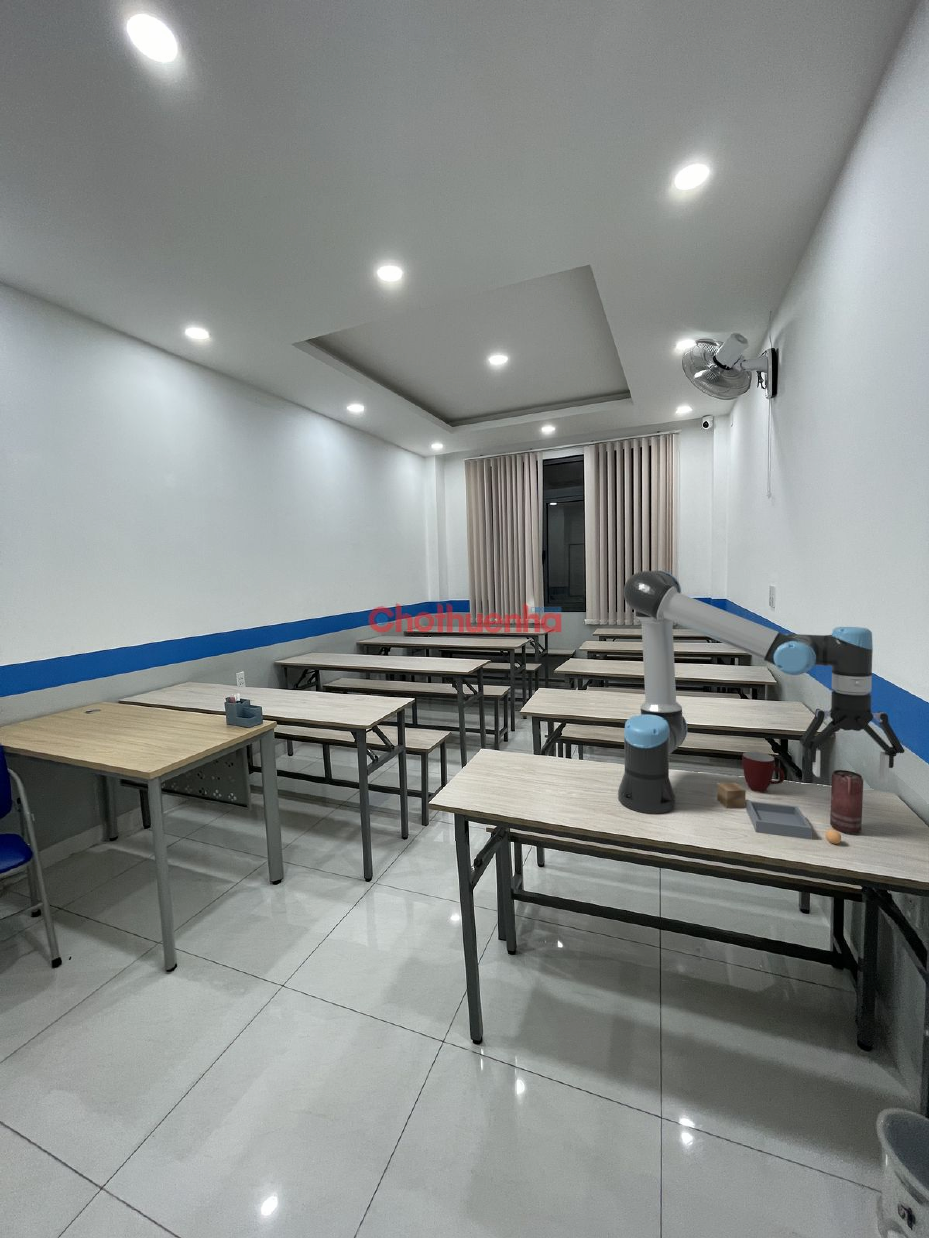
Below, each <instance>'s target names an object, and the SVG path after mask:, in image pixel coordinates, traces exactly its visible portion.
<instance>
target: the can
mask: <svg viewBox="0 0 929 1238" xmlns="http://www.w3.org/2000/svg"><path fill="white" fill-rule="evenodd" d="M830 791H831V792H830V813H829V815H830V816H829V817H830V819H829V820H830V821H829V825H830V826H831V828H832V830H835V831H837V832H839V833H842V834H846V835H851V836H852V835H854V836H855V835H858V834H860V833H861V832H862V823H863V822H862V821H863V820H862V819H863V798H864V779H863V776H862V775H861V774H860V773H858V772H854V771H850V770H846V769H845V770H844V769H835V770H834V771H833V773H831V789H830Z"/></svg>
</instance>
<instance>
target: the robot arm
mask: <svg viewBox="0 0 929 1238" xmlns="http://www.w3.org/2000/svg"><path fill="white" fill-rule="evenodd" d="M623 597H624V600H625V603H627V605H628V607H629V608H631V609H632V610H634V611H635V619H637V620H638V621H639V622H640V624H641V638H642V639H641V640H642V641H641V642H642V655H643V656H642V657H643V659H642V660H643V661H642V663H643V677H644V696H645V697H644V698H645V699H644V700H645V701H644V702H643V703H642V704H641V705H640V714H638V715H634V716H632V717H629V718H628V719H627V720H626V721H625V724H624V730H623V736H624V737H623V738H624V773H623V776H622V779H621V782H620V784H619V786H618V789H617V790H618V792H617V794H618V801H619V803H620V804H621V805H623V806H624V807H626V808H628V809H629V810H632V811H635V812H639V813H645V814H653V815H654V814H656V815H657V814H665V813H668V812H670V811H671V812H672V810H674V809H675V808H676V794H675V791H674V789H673V786H672V782H671V780H670V771H669V767H670V766H669V765H670V763H669V762H670V761H669V760H670V754H672V753H673V752H675V750H676V749H677V748H679V747H680V746H681V745H682V744H684V743H683V742H684V741H685V740H686V738H687V734H688V723H687V721H686V719H685V717H684V716H683V706H682V705H681V704H680V703H679V702H677V692H676V690H677V689H676V688H677V687H676V673H675V672H676V671H675V670H676V669H675V667H676V666H675V652H674V651H675V649H674V630H673V628H674V627H673V623H675V624H677V625H680V626H682V627H684V628H687V629H690V630H692V631H694V632H696V633H699V634H701V635H704V636H705V637H708V638H711V639H713V640H715V641H717V642H719V643H723V644H725V645H727V646H729V647H732V648H734V649H737V650H739V651H741V652H743V653H747V654H748V655H751V656H753V657H755V658H758V659H760V660H762V661H765V662H766V663H769V664H771V665H774V666H776V668H777V669H778V670H779V671H780V672H782V673H784V674H786V675H790V676H799V675H803V674H805V673H807V672H809V671H810V670H811V669H812V668H814V667H815V666H826V667H829V666H830V667H831V688H832V691H831V705H830V707H831V709H830V710H829V711H828V710H822V709H820V708H816V709H815V712H814V717H813V719H812V721H811V722H810V723H809V725H808V727H807V729H806V730H805V732H804V733H803V735H802V736H801V738H800V740H799V744H800V745H801V746H802V747H804V748H808V751H807V752H808V756H807V757H808V760H809V761H810V762H811V763H812V774H813V775H815V777H817V778H820V777H821V750H820V749H819V747H820V746H822V745H823V744H824V743H825V742H826V741H828V740H829V739H830V738H831V737H832V736H833V735H834V734H835V733H837V732H839V731H840V730H843V731H856V732H860V731H862V730H864V732H865V733H867V735H868V736H869V737H871V739H873V741H874V742H875V743H876V744H877V745H878V746H879V747H880V748H881V750H883V751H879V777H878V778H879V779H880V780H881V781H882V782H884V783H887V784H888V783H889V781H890V779H889V776H890V775H889V773H890V769H893V768H894V765H895V764H894V762H895V759H894V758H895V757H896V756H897V754H904V753H905V749H904V747H903V745H902V744H901V742H900V739H898V736H897V735H896V733H895V732H894V729H893V728H892V726H891V725H890V724H889V722H890V721H889V716H888V714H887V713H885V712H883V711H881V710H879V711H877V712H872V695H871V693H872V677H873V676H872V674H873V673H872V672H873V650H874V646H873V632H872V631H871V630H870V629H868V628H866V627H860V626H837V627H834V628H833V629H832V632H831V634H827V635H826V634H825V635H823V634H820V635H819V634H802V633H801V634H800V633H799V634H798V633H782V632H779V631H777V630H774V629H773V628H769V627H767V626H765V625H762V624H760V623H757V622H754V621H752V620H750V619H747V618H744V617H741V616H739V615H737V614H734V613H732V612H729V611H726V610H724V609H721V608H718V607H716V606H713V605H711V604H708V603H705V602H703V601H701V600H699V599H695V598H693V597H690V596H688V595H686V594H683V593H682V587H681V585H680V582H679V580H678V579H677V578H676V577H675V576H674V575H672V574H671V573H668V571H667V572H666V571H663V570H649V571H648V570H645V571H644V570H643V571H639V572H636V573H634V574H632V575H631V576H630V577H629V578H628V579H627V580H626V582H625V584H624V586H623ZM828 717H830V718H831V721H830V722H828V724H827V726H825V728H823V729H822V730H821V731H820V732H819V733H818V734H817V732H818V731H819V729H820V728H821V726H822V724H823V723H824V721H825V720H827V718H828ZM873 719H874V720H875V722H877V723H878V724H879V725H880V728H881V729H882V732H883V733H884V735H885V737H886V738H887V739H888V741H889V743H890V745H891V746H890V745H889V744H887V743H886V741H885V740H884V739H883V738H882V737H881V736H880V735H879V734H878V733H877V732H876V731H875V730H874V729H873V727H871V726H870V725H869V724H870V722H871V721H873ZM816 734H817V735H816Z"/></svg>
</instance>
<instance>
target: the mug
mask: <svg viewBox="0 0 929 1238" xmlns="http://www.w3.org/2000/svg"><path fill="white" fill-rule="evenodd" d="M741 759H742V760H741V763H742V768H743V769H742V770H743V775H744V780H745V782H746V785H747V786H748V787H749V789H750V790H751V791H753V792H756V793H765V792H766V791H767V790H768V788H770V786H771V785H780V784H782V783H784V781H785V778H786V775H785V773H784V771H783V769H781V768H780V767H778V766H776V765H775V757H774V756H773V755H771V754H768V753H765V752H759V751H745V752H743V753H742V757H741ZM775 771H777V772H778V773H779V774H780V779H779V780H773V776H774V772H775Z"/></svg>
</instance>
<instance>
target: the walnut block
mask: <svg viewBox="0 0 929 1238" xmlns="http://www.w3.org/2000/svg"><path fill="white" fill-rule="evenodd" d="M716 792H717V794H716V796H717V797H716V800H717V801H718V802H719V803H720V804H721V805H722V806H723V807H724V808H726V809H742V808H743V809H745V808H746V793H747V792H746V789H744V788H743V787H742V786H741V785H739V784H738V783H737V782H719V783H718V782H717V791H716Z"/></svg>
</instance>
